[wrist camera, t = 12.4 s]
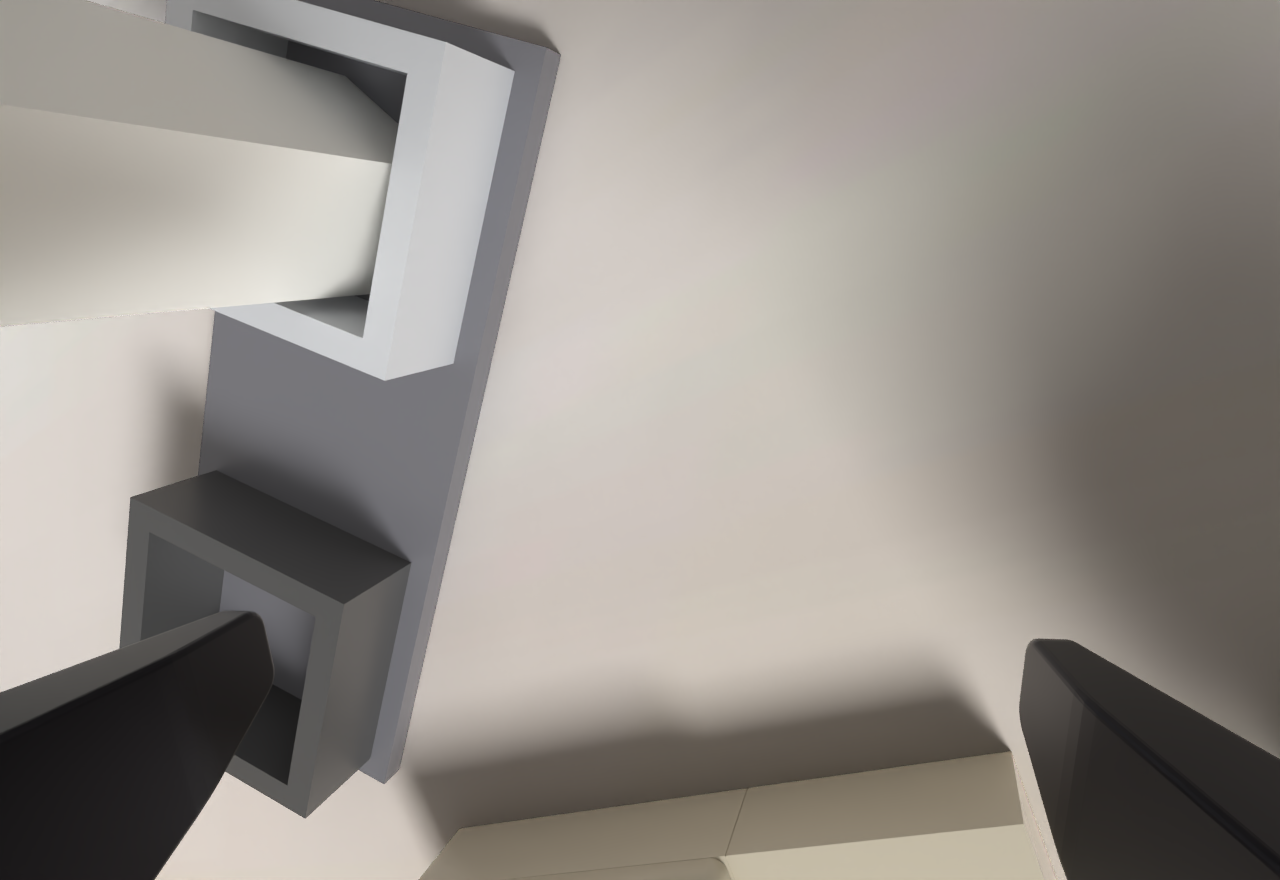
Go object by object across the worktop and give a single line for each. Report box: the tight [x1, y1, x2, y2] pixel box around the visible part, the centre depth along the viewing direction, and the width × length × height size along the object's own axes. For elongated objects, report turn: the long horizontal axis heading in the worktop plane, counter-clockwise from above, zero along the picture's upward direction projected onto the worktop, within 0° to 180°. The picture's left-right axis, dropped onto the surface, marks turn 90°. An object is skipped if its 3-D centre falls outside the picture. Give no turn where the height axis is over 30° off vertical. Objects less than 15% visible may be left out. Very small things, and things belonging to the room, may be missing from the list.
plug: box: [0, 0, 399, 327], centre depth 15 cm, size 4×4×13 cm
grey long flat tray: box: [119, 0, 561, 818], centre depth 23 cm, size 9×23×4 cm, turn 163°
